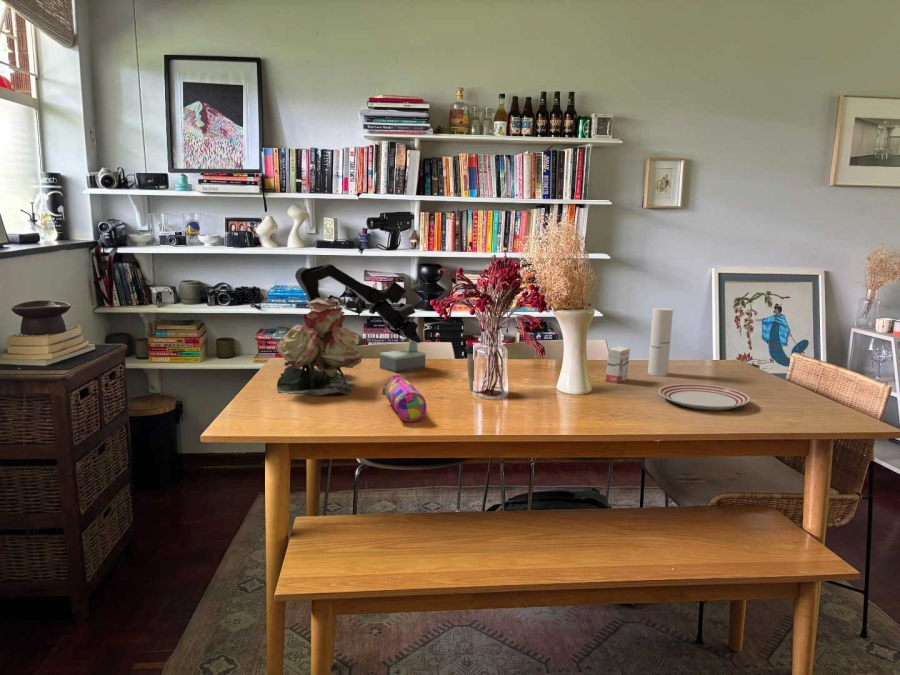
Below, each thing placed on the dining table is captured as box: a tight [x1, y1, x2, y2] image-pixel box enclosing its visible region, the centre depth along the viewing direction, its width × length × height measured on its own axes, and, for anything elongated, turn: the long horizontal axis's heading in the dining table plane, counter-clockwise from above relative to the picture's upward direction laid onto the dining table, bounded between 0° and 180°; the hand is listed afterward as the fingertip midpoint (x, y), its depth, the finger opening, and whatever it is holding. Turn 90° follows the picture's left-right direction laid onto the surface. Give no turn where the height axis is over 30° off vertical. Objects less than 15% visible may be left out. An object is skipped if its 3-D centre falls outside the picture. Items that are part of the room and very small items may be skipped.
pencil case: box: [382, 374, 428, 423], centre depth 194 cm, size 22×9×9 cm, turn 17°
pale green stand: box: [379, 330, 427, 360], centre depth 250 cm, size 10×14×9 cm
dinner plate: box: [658, 383, 751, 411], centre depth 214 cm, size 28×27×3 cm
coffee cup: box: [465, 343, 475, 392], centre depth 221 cm, size 9×9×15 cm
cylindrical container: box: [647, 307, 674, 377], centre depth 251 cm, size 7×7×25 cm
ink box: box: [605, 345, 631, 384], centre depth 240 cm, size 9×5×12 cm, turn 143°
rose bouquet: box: [274, 297, 363, 397], centre depth 218 cm, size 26×29×30 cm
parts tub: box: [379, 354, 426, 374], centre depth 251 cm, size 10×14×5 cm
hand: (414, 340), depth 254 cm, fingers open, 9 cm apart
